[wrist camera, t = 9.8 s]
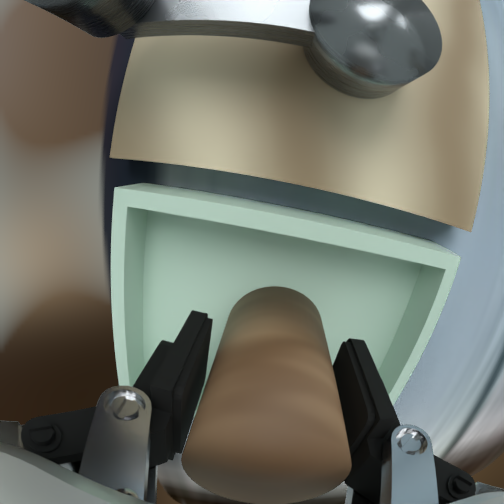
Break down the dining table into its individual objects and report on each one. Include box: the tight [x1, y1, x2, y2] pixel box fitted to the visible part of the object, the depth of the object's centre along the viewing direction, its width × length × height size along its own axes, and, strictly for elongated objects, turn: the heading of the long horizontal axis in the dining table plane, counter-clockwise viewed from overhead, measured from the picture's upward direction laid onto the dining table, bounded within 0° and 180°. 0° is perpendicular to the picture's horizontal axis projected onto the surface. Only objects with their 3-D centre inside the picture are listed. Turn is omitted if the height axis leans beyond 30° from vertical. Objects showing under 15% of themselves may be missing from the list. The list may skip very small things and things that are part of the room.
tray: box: [111, 183, 461, 418], centre depth 12 cm, size 13×10×2 cm
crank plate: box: [110, 0, 489, 232], centre depth 8 cm, size 15×15×2 cm
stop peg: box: [181, 286, 352, 504], centre depth 9 cm, size 4×4×7 cm
